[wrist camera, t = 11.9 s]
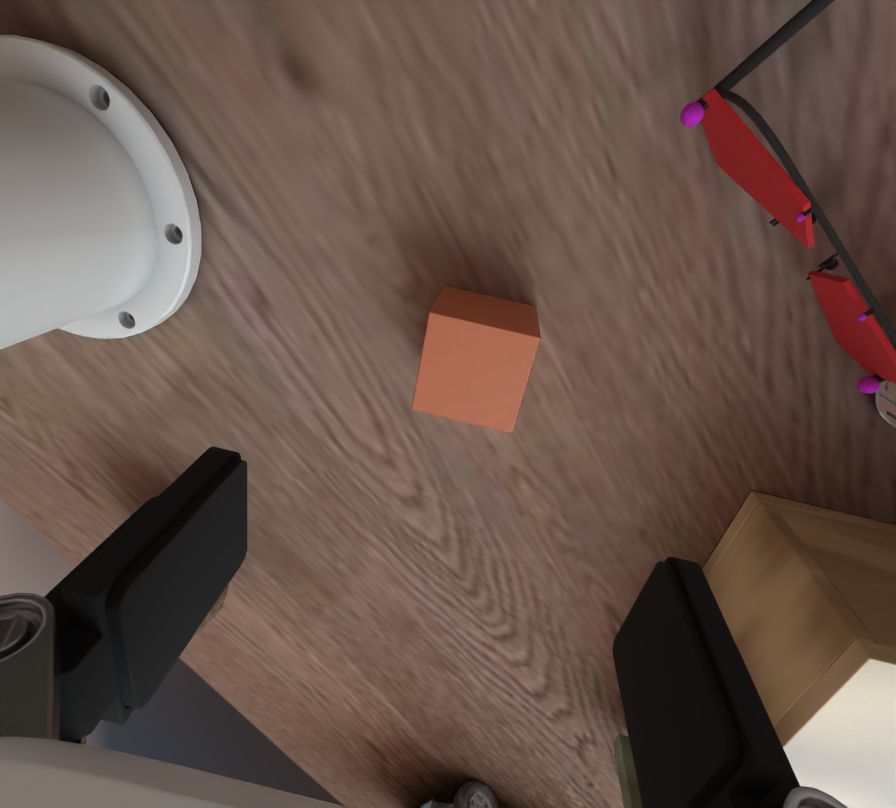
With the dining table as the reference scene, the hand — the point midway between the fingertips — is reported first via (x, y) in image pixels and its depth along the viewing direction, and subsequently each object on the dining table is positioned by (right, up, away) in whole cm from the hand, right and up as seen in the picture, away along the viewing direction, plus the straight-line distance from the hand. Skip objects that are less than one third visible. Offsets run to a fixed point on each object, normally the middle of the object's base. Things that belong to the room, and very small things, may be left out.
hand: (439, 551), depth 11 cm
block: (+2, +6, +13) cm, 14 cm away
